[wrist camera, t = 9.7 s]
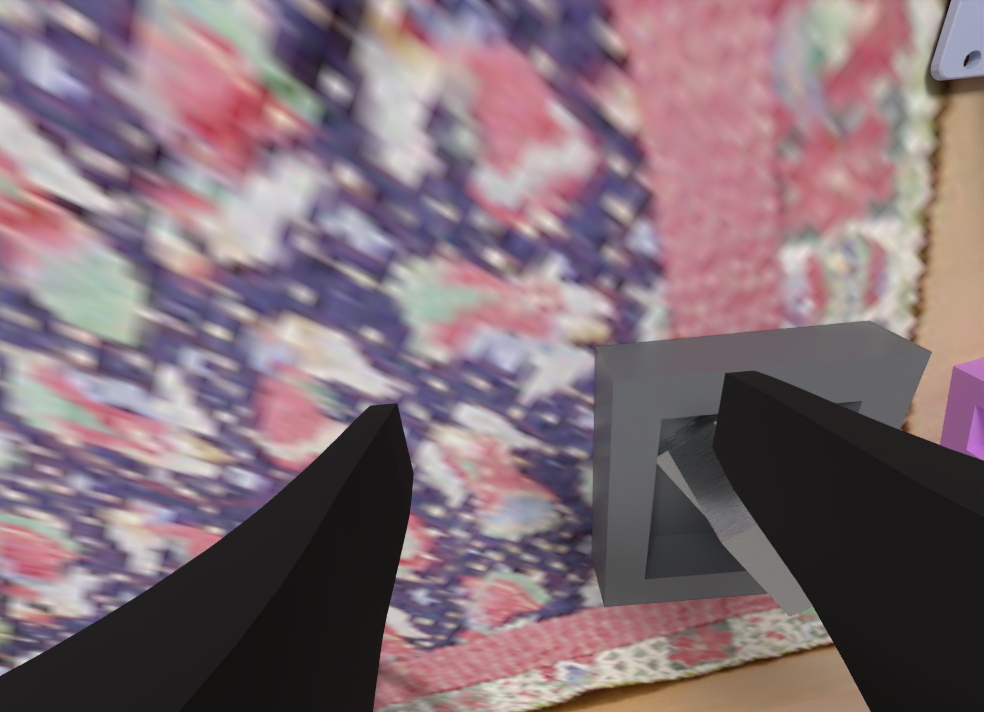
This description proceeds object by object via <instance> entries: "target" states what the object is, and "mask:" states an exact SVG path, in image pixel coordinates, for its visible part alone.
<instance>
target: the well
mask: <svg viewBox="0 0 984 712" xmlns="http://www.w3.org/2000/svg"><path fill="white" fill-rule="evenodd" d="M931 353H932V352H931V351H929V350H927V349H925V348H923V347H921V346H919V345H917V344H915V343H913V342H911V341H909V340H907V339H905V338H903V337H901V336H899V335H897V334H895V333H893V332H891V331H889V330H887V329H885V328H883V327H881V326H879V325H877V324H875V323H873V322H871V321H862V322H851V323H841V324H830V325H819V326H809V327H798V328H788V329H777V330H766V331H756V332H745V333H735V334H724V335H713V336H703V337H692V338H682V339H671V340H660V341H650V342H639V343H629V344H618V345H607V346H597V347H595V391H594V451H593V511H592V561H593V565H594V568H595V572H596V576H597V580H598V584H599V588H600V592H601V596H602V599H603V603H604V607H609V606H622V605H634V604H646V603H659V602H671V601H684V600H696V599H708V598H721V597H733V596H746V595H758V594H768V593H767V592H766V591H765V590H764V589H763V588H762V586H761V585H760V584H759V583H758V582H757V581H756V580H755V579H754V578H753V577H752V576H751V575H750V574H749V572H748V571H747V570H746V569H745V568H744V567H743V566H742V565H741V564H740V563H739V562H738V561H737V559H736V558H735V557H734V556H733V555H732V554H731V553H730V552H729V551H728V550H727V549H726V548H725V546H724V545H723V544H722V543H721V541H720V540H719V538H718V536H717V534H716V533H715V531H714V529H713V528H712V526H711V524H710V522H709V521H708V519H707V518H706V517H705V516H704V515H703V514H702V512H701V511H700V510H699V509H698V508H697V507H696V506H695V505H694V504H693V503H692V501H691V500H690V499H689V498H688V497H687V496H686V495H685V494H684V493H683V492H682V490H681V489H680V488H679V487H678V486H677V485H676V484H675V483H674V482H673V481H672V480H671V478H670V477H669V476H668V475H667V474H666V473H665V472H664V471H663V470H662V469H661V467H660V466H659V465H658V464H657V456H658V447H659V441H661V440H662V439H664V438H665V437H667V436H669V435H670V434H672V433H673V432H675V431H677V430H678V429H680V428H681V427H683V426H685V425H686V424H688V423H690V422H691V421H693V420H694V419H696V418H698V417H699V416H701V415H712V414H718V411H719V405H720V400H721V394H722V388H723V383H724V377H725V373H731V372H742V371H753V370H754V371H757V372H760V373H763V374H766V375H769V376H772V377H774V378H777V379H779V380H782V381H784V382H787V383H789V384H792V385H794V386H796V387H799V388H801V389H803V390H806V391H808V392H810V393H813V394H815V395H817V396H820V397H822V398H824V399H827V400H829V401H831V402H834V403H836V404H838V405H841V406H843V407H846V408H848V409H850V410H853V411H855V412H857V413H860V414H862V415H865V416H867V417H869V418H872V419H874V420H877V421H879V422H882V423H884V424H887V425H889V426H892V427H894V428H896V429H899V430H900V427H901V425H902V423H903V420H904V418H905V415H906V413H907V411H908V408H909V406H910V403H911V401H912V399H913V396H914V394H915V391H916V389H917V387H918V384H919V382H920V379H921V377H922V375H923V372H924V370H925V367H926V365H927V363H928V360H929V358H930V355H931Z"/></svg>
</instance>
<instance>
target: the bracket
mask: <svg viewBox="0 0 984 712" xmlns="http://www.w3.org/2000/svg"><path fill="white" fill-rule="evenodd" d="M940 445H941V446H944V447H946V448H949V449H952V450H955V451H958V452H961V453H963V454H966V455H969V456H972V457H975V458H978V459H981V460H984V358H981V359H977V360H973V361H970V362H966V363H962V364H959V365H955V366H953V371H952V377H951V383H950V389H949V395H948V401H947V407H946V413H945V419H944V425H943V431H942V437H941V443H940Z"/></svg>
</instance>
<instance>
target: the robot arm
mask: <svg viewBox="0 0 984 712" xmlns="http://www.w3.org/2000/svg"><path fill="white" fill-rule="evenodd" d="M968 54H969V61H968V63H967V65H966V66H965V67H964V66H963V65H964V60H965V58H966V56H967V55H968ZM931 75H932V77H933V78H934V79H935V80H940V81H942V80H952V79H961V78H971V77H980V76H984V0H951V3H950V6H949V10H948V13H947V16H946V19H945V22H944V26H943V29H942V32H941V35H940V39H939V42H938V45H937V48H936V51H935V55H934V58H933V61H932V64H931ZM712 448H713V450H714V452H715V454H716V457H717V459H718V461H719V463H720V465H721V467H722V469H723V471H724V473H725V475H726V477H727V479H728V480H729V482H730V484H731V486H732V488H733V489H734V491H735V492H736V494H737V495H738V497H739V498H740V500H741V501H742V503H743V504H744V506H745V507H746V509H747V510H748V512H749V513H750V515H751V516H752V518H753V519H754V520H755V522H756V523H757V525H758V526H759V528H760V529H761V531H762V532H763V533H764V535H765V536H766V538H767V539H768V541H769V542H770V543H771V545H772V546H773V548H774V549H775V551H776V552H777V554H778V555H779V556H780V558H781V559H782V561H783V562H784V564H785V565H786V566H787V568H788V569H789V571H790V572H791V574H792V575H793V577H794V578H795V579H796V581H797V582H798V584H799V585H800V587H801V588H802V590H803V592H804V593H805V595H806V596H807V598H808V599H809V601H810V603H811V604H812V606H813V607H814V609H815V611H816V612H817V614H818V616H819V618H820V620H821V621H822V623H823V625H824V627H825V628H826V630H827V632H828V634H829V636H830V637H831V639H832V641H833V643H834V644H835V646H836V648H837V650H838V651H839V653H840V655H841V657H842V659H843V660H844V662H845V664H846V666H847V668H848V670H849V672H850V673H851V675H852V677H853V679H854V681H855V683H856V685H857V687H858V689H859V690H860V692H861V694H862V696H863V698H864V700H865V702H866V704H867V705H868V707H869V709H870V711H871V712H984V460H981V459H978V458H975V457H972V456H969V455H966V454H963V453H961V452H958V451H955V450H952V449H949V448H946V447H944V446H941V445H938V444H936V443H933V442H931V441H928V440H925V439H923V438H920V437H917V436H915V435H912V434H910V433H907V432H904V431H902V430H899V429H896V428H894V427H892V426H889V425H887V424H884V423H882V422H879V421H877V420H874V419H872V418H869V417H867V416H865V415H862V414H860V413H857V412H855V411H853V410H850V409H848V408H846V407H843V406H841V405H838V404H836V403H834V402H831V401H829V400H827V399H824V398H822V397H820V396H817V395H815V394H813V393H810V392H808V391H806V390H803V389H801V388H799V387H796V386H794V385H792V384H789V383H787V382H784V381H782V380H779V379H777V378H774V377H772V376H769V375H766V374H763V373H760V372H757V371H754V370H753V371H742V372H731V373H725V377H724V383H723V388H722V394H721V400H720V405H719V411H718V417H717V423H716V428H715V434H714V440H713V445H712ZM413 475H414V473H413V469H412V465H411V461H410V456H409V452H408V448H407V443H406V439H405V435H404V430H403V426H402V422H401V418H400V413H399V409H398V405H397V403H395V404H384V405H374V406H369V407H368V408H367V409H366V410H365V411H364V412H363V413H362V414H361V415H360V416H359V417H358V418H357V419H356V420H355V421H354V422H353V423H352V424H351V425H350V426H349V427H348V428H347V429H346V430H345V431H344V432H343V433H342V434H341V435H340V436H339V437H338V438H337V439H336V440H335V441H334V442H333V443H332V444H331V445H330V446H329V447H328V448H327V449H326V450H325V451H324V452H323V453H322V454H321V455H320V456H319V457H318V458H317V459H316V460H315V461H313V462H312V463H311V464H310V465H309V466H308V467H307V468H306V469H305V470H304V471H303V472H301V473H300V474H299V475H298V476H297V477H296V478H295V479H294V480H293V481H291V482H290V483H289V484H288V485H287V486H286V487H285V488H284V489H283V490H281V491H280V492H279V493H278V494H277V495H276V496H275V497H274V498H273V499H271V500H270V501H269V502H268V503H267V504H265V505H264V506H263V507H262V508H261V509H259V510H258V511H257V512H256V513H254V514H253V515H252V516H251V517H250V518H248V519H247V520H246V521H244V522H243V523H242V524H240V525H239V526H238V527H237V528H235V529H234V530H233V531H231V532H230V533H229V534H227V535H226V536H225V537H223V538H222V539H221V540H220V541H218V542H217V543H215V544H214V545H213V546H211V547H210V548H209V549H207V550H206V551H204V552H203V553H201V554H200V555H198V556H197V557H195V558H194V559H192V560H191V561H189V562H188V563H187V564H185V565H184V566H182V567H181V568H179V569H178V570H176V571H175V572H173V573H172V574H170V575H169V576H167V577H166V578H164V579H163V580H162V581H160V582H159V583H157V584H156V585H154V586H153V587H151V588H150V589H148V590H147V591H145V592H144V593H142V594H140V595H139V596H137V597H136V598H134V599H132V600H131V601H129V602H128V603H126V604H124V605H123V606H121V607H120V608H118V609H116V610H115V611H113V612H111V613H110V614H108V615H107V616H105V617H103V618H102V619H100V620H98V621H97V622H95V623H93V624H91V625H90V626H88V627H86V628H85V629H83V630H81V631H80V632H78V633H76V634H75V635H73V636H71V637H69V638H68V639H66V640H64V641H63V642H61V643H59V644H57V645H56V646H54V647H52V648H50V649H49V650H47V651H45V652H43V653H42V654H40V655H38V656H36V657H35V658H33V659H31V660H29V661H27V662H25V663H24V664H22V665H20V666H18V667H16V668H14V669H12V670H11V671H9V672H7V673H5V674H3V675H1V676H0V712H373V706H374V698H375V690H376V683H377V675H378V668H379V660H380V653H381V645H382V639H383V633H384V628H385V623H386V618H387V613H388V609H389V604H390V600H391V596H392V591H393V587H394V582H395V578H396V574H397V569H398V565H399V561H400V556H401V552H402V548H403V543H404V539H405V534H406V530H407V525H408V520H409V516H410V507H411V498H412V486H413Z"/></svg>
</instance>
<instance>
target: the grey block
mask: <svg viewBox="0 0 984 712" xmlns="http://www.w3.org/2000/svg"><path fill="white" fill-rule="evenodd" d="M717 417H718V414H712V415H701V416H699V417H698V418H696V419H694V420H693V421H691V422H690V423H688V424H686V425H685V426H683V427H681V428H680V429H678V430H677V431H675V432H673V433H672V434H670V435H669V436H667V437H665V438H664V439H662V440H661V441H659V447H658V456H657V464H658V465H659V466H660V467H661V469H662V470H663V471H664V472H665V473H666V474H667V475H668V476H669V477H670V478H671V480H672V481H673V482H674V483H675V484H676V485H677V486H678V487H679V488H680V489H681V490H682V492H683V493H684V494H685V495H686V496H687V497H688V498H689V499H690V500H691V501H692V503H693V504H694V505H695V506H696V507H697V508H698V509H699V510H700V511H701V512H702V514H703V515H704V516H705V517H706V518H707V519H708V521H709V522H710V524H711V526H712V528H713V529H714V531H715V533H716V534H717V536H718V538H719V540H720V541H721V543H722V544H723V545H724V546H725V548H726V549H727V550H728V551H729V552H730V553H731V554H732V555H733V556H734V557H735V558H736V559H737V561H738V562H739V563H740V564H741V565H742V566H743V567H744V568H745V569H746V570H747V571H748V572H749V574H750V575H751V576H752V577H753V578H754V579H755V580H756V581H757V582H758V583H759V584H760V585H761V586H762V588H763V589H764V590H765V591H766V592H767V593H768V594H769V595H770V596H771V597H772V598H773V599H774V601H775V602H776V603H777V604H778V605H779V606H780V607H781V608H782V609H783V610H784V611H785V612H786V614H787V615H788V616H789V617H790V616H792V615H794V614H797V613H799V612H801V611H803V610H806V609H808V608H810V607H812V604H811V603H810V601H809V599H808V598H807V596H806V595H805V593H804V592H803V590H802V588H801V587H800V585H799V584H798V582H797V581H796V579H795V578H794V577H793V575H792V574H791V572H790V571H789V569H788V568H787V566H786V565H785V564H784V562H783V561H782V559H781V558H780V556H779V555H778V554H777V552H776V551H775V549H774V548H773V546H772V545H771V543H770V542H769V541H768V539H767V538H766V536H765V535H764V533H763V532H762V531H761V529H760V528H759V526H758V525H757V523H756V522H755V520H754V519H753V518H752V516H751V515H750V513H749V512H748V510H747V509H746V507H745V506H744V504H743V503H742V501H741V500H740V498H739V497H738V495H737V494H736V492H735V491H734V489H733V488H732V486H731V484H730V482H729V480H728V479H727V477H726V475H725V473H724V471H723V469H722V467H721V465H720V463H719V461H718V459H717V457H716V454H715V452H714V450H713V448H712V445H713V440H714V434H715V428H716V423H717Z"/></svg>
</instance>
